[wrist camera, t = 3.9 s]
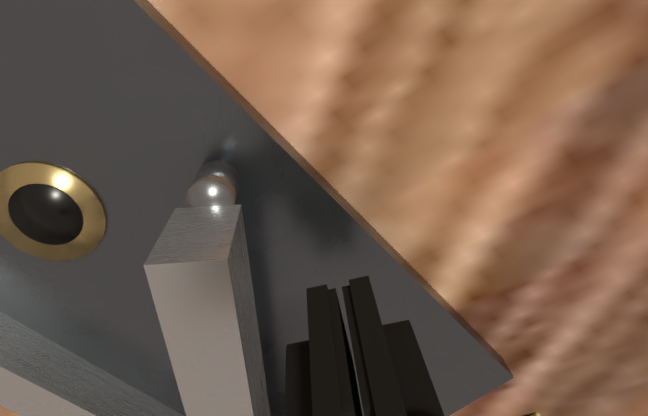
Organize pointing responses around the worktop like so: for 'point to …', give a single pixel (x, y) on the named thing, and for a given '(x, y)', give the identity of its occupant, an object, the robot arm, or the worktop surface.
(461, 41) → the worktop surface
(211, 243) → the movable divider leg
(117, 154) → the divider base plate
